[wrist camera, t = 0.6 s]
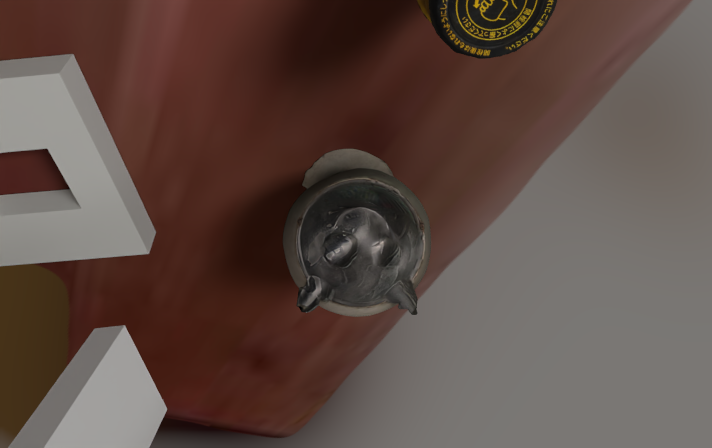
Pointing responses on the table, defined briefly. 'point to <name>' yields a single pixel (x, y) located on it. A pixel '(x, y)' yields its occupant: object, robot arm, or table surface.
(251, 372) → the table surface
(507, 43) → the condiment
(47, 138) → the socket plate
